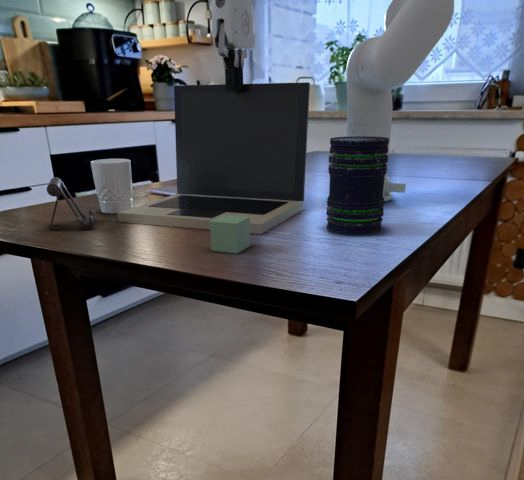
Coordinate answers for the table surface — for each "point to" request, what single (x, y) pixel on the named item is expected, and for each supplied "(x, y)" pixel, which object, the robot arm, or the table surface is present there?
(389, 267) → the table surface
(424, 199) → the table surface
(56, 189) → the tablet stand
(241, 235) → the block
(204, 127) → the laptop screen
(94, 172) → the white cup
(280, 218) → the laptop base
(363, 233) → the storage jar
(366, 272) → the table surface
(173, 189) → the mobile phone
